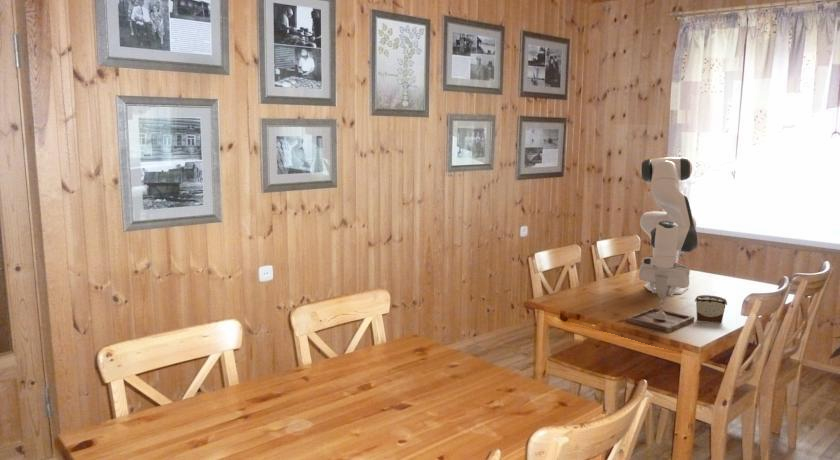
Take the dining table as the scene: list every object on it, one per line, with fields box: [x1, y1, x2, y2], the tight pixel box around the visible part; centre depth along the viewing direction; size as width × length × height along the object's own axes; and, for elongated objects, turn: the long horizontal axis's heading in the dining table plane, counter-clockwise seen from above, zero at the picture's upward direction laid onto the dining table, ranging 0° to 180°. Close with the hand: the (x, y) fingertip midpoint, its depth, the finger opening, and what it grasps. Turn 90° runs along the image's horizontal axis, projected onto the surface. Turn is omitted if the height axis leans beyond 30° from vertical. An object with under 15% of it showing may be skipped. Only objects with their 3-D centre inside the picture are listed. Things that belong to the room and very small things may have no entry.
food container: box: [694, 294, 728, 324], centre depth 260 cm, size 12×6×10 cm, turn 71°
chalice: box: [654, 276, 671, 320], centre depth 256 cm, size 7×7×18 cm
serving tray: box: [626, 307, 695, 334], centre depth 258 cm, size 22×18×2 cm
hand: (662, 294), depth 256 cm, fingers closed on chalice, 5 cm apart
